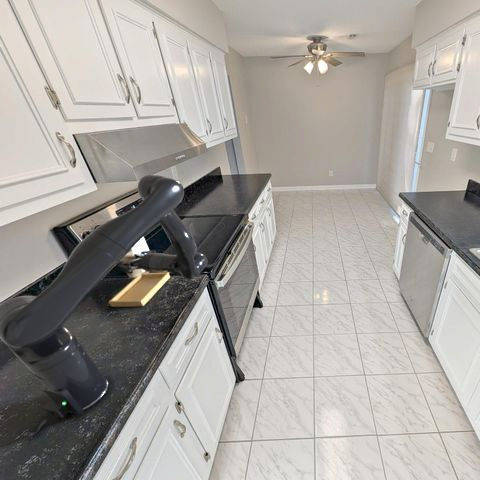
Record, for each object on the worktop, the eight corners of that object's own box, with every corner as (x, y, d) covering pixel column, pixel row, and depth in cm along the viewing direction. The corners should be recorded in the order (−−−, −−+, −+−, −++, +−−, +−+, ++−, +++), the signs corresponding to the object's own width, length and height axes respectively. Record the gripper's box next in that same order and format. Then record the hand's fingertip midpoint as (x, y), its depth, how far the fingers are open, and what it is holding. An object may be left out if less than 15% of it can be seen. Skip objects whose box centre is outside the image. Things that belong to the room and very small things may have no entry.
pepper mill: (135, 278, 104) (123, 253, 98) (125, 277, 105) (112, 252, 99) (145, 271, 108) (134, 247, 102) (135, 270, 109) (124, 246, 104)
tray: (143, 306, 102) (140, 301, 100) (111, 306, 103) (108, 301, 101) (170, 277, 119) (168, 272, 118) (142, 277, 120) (140, 273, 119)
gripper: (167, 245, 104) (134, 243, 108) (139, 264, 92) (102, 261, 96) (174, 260, 108) (141, 258, 112) (147, 281, 96) (111, 277, 99)
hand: (123, 259), depth 104 cm, fingers closed on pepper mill, 5 cm apart
